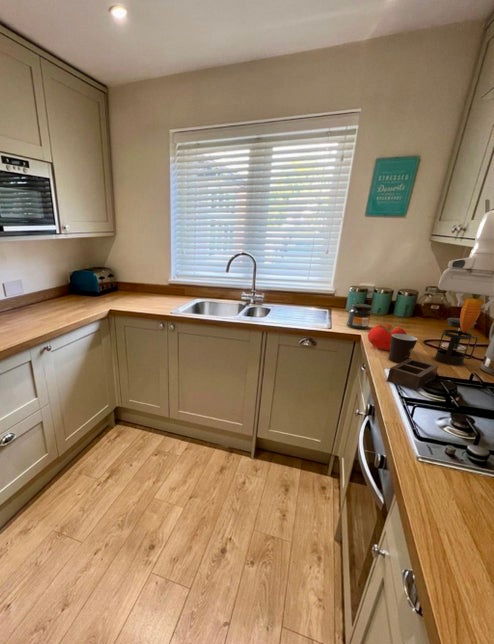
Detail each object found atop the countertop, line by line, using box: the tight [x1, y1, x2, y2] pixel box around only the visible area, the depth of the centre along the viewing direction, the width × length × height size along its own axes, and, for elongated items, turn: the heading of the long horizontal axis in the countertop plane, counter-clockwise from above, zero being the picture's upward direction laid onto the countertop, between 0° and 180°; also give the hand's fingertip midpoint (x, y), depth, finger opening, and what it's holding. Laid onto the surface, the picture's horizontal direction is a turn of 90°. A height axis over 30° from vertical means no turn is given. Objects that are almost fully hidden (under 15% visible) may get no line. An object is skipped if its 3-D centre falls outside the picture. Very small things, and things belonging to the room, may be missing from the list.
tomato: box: [367, 324, 408, 351], centre depth 145 cm, size 14×16×10 cm
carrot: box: [459, 293, 485, 333], centre depth 105 cm, size 5×5×15 cm
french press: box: [433, 317, 479, 366], centre depth 129 cm, size 12×9×23 cm
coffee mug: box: [388, 334, 418, 364], centre depth 131 cm, size 12×9×10 cm
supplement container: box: [346, 303, 373, 330], centre depth 176 cm, size 10×10×12 cm
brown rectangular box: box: [386, 357, 439, 392], centre depth 114 cm, size 9×16×5 cm, turn 127°
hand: (471, 308), depth 105 cm, fingers closed on carrot, 4 cm apart
